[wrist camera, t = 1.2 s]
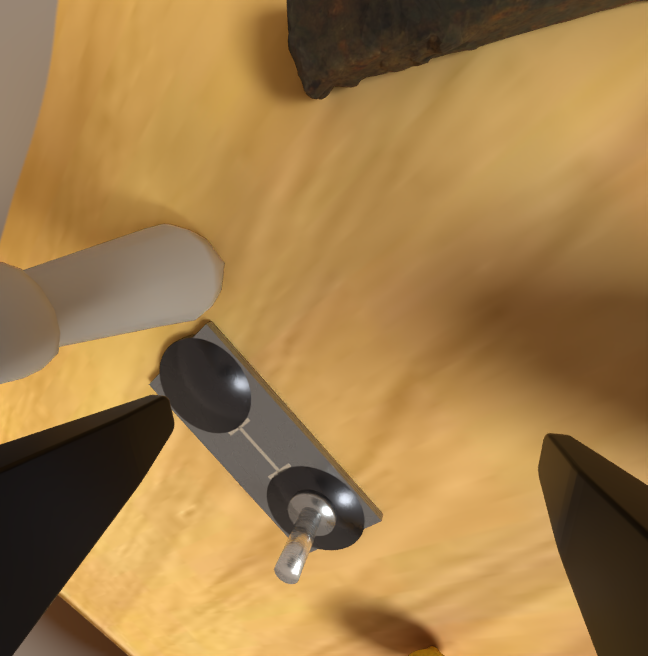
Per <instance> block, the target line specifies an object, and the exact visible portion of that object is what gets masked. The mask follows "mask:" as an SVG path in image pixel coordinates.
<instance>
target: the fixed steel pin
mask: <svg viewBox="0 0 648 656" xmlns="http://www.w3.org/2000/svg"><path fill="white" fill-rule="evenodd" d="M288 514H289V517H290V519H291V520H292V522H293V523H294V524H295V525H294V527H293V529H292V531H291V533H290V536H289V538H288V540H287V542H286V544H285V546H284V549H283V551H282V553H281V555H280V557H279V559H278V562H277V564H276V566H275V568H274V571H275V574H276V575H277V577H278V578H279V579H280V580H282V581H283V582H285V583H288V584H295V583H297V582H298V580H299V577H300V575H301V572H302V569H303V567H304V564H305V562H306V559H307V556H308V554H309V551H310V549H311V546H312V543H313V541H314V538H315V536H323V535H327V534H329V533H330V532H331V531H332V530H333V528H334V526H335V523H336V520H337V511H336V508H335V506H334V505H333V503H332V502H331V501H330V500H329V499H328V498H327V497H326V496H325V495H323V494H321V493H319V492H317V491H314V490H300V491H298V492H296V493H295V494H294V495H293V496H292V498H291V500H290V502H289V505H288Z"/></svg>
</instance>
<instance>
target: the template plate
mask: <svg viewBox="0 0 648 656" xmlns="http://www.w3.org/2000/svg"><path fill="white" fill-rule="evenodd" d="M149 385H150V386H151V387H152V388H153V389H154V391H155V392H156V393H157V394H158V395H162V396H166V397H167V398H168V399H169V401H170V405H171V409H172V410H173V411H174V413H175V414H176V415H177V416H178V417H179V418H180V419H181V420H182V421H183V422H184V424H185V425H186V426H187V427H188V428H189V429H190V430H191V431H192V432H193V433H194V435H195V436H196V437H197V438H198V439H199V440H200V441H201V442H202V443H203V444H204V446H205V447H206V448H207V449H208V450H209V451H210V452H211V453H212V454H213V455H214V457H215V458H216V459H217V460H218V461H219V462H220V463H221V464H222V465H223V466H224V467H225V469H226V470H227V471H228V472H229V473H230V474H231V475H232V476H233V477H234V478H235V480H236V481H237V482H238V483H239V484H240V485H241V486H242V487H243V488H244V489H245V491H246V492H247V493H248V494H249V495H250V496H251V497H252V498H253V499H254V500H255V502H256V503H257V504H258V505H259V506H260V507H261V508H262V509H263V510H264V511H265V513H266V514H267V515H268V516H269V517H270V518H271V519H272V520H273V521H274V522H275V524H276V525H277V526H278V527H279V528H280V529H281V530H282V531H283V532H284V533H285V535H286V536H287V537H288V538H289V536H290V533H291V531H292V529H293V527H294V525H295V524H294V523H293V522H292V520H291V519H290V517H289V514H288V505H289V502H290V500H291V498H292V496H293V495H294V494H295V493H296V492H298V491H300V490H314V491H317V492H319V493H321V494H323V495H325V496H326V497H327V498H328V499H329V500H330V501H331V502H332V503H333V505H334V506H335V508H336V511H337V520H336V523H335V526H334V528H333V530H332V531H331V532H330V533H329V534H327V535H323V536H315V538H314V541H313V543H312V546H311V549H310V551H309V553H310V552H312V551H315V550H317V549H323V550H339V549H343V548H346V547H349V546H351V545H352V544H354V543H355V542H356V541H357V540H358V539H359V538H360V536H361V535H362V532H363V530H364V529H365V528H367V527H369V526H372V525H374V524H376V523H378V522H381V521H382V517H383V514H382V512H381V511H380V510H379V509H378V508H377V507H376V506H375V505H374V503H373V502H372V501H371V500H370V499H369V498H368V497H367V496H366V494H365V493H364V492H363V491H362V490H361V489H360V488H359V487H358V485H357V484H356V483H355V482H354V481H353V480H352V479H351V478H350V476H349V475H348V474H347V473H346V472H345V471H344V470H343V469H342V467H341V466H340V465H339V464H338V463H337V462H336V461H335V460H334V458H333V457H332V456H331V455H330V454H329V453H328V452H327V451H326V449H325V448H324V447H323V446H322V445H321V444H320V443H319V442H318V440H317V439H316V438H315V437H314V436H313V435H312V434H311V433H310V431H309V430H308V429H307V428H306V427H305V426H304V425H303V424H302V422H301V421H300V420H299V419H298V418H297V417H296V416H295V415H294V413H293V412H292V411H291V410H290V409H289V408H288V407H287V406H286V404H285V403H284V402H283V401H282V400H281V399H280V398H279V397H278V395H277V394H276V393H275V392H274V391H273V390H272V389H271V388H270V386H269V385H268V384H267V383H266V382H265V381H264V380H263V379H262V378H261V376H260V375H259V374H258V373H257V372H256V371H255V370H254V369H253V367H252V366H251V365H250V364H249V363H248V362H247V361H246V360H245V358H244V357H243V356H242V355H241V354H240V353H239V352H238V351H237V349H236V348H235V347H234V346H233V345H232V344H231V343H230V342H229V340H228V339H227V338H226V337H225V336H224V335H223V334H222V333H221V331H220V330H219V329H218V328H217V327H216V326H215V325H214V324H213V322H212V321H211V322H209V323H207V324H206V325H205V326H204V327H203V328H202V329H201V330H200V331H199V332H198V333H197V334H196V335H192V336H187V337H185V338H182V339H180V340H178V341H176V342H175V343H173V344H172V345H171V346H170V347H168V349H167V350H166V351H165V353H164V355H163V357H162V359H161V363H160V373H159V375H158V376H157V377H156V378H155V379H154V380H153V381H152V382H151V383H150V384H149Z"/></svg>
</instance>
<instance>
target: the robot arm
mask: <svg viewBox="0 0 648 656" xmlns="http://www.w3.org/2000/svg"><path fill="white" fill-rule="evenodd" d="M173 429H174V418H173V414H172V409H171V405H170V401H169V399H168V398H167V397H166V396H162V395H149V396H146V397H143V398H140V399H137V400H134V401H131V402H128V403H125V404H122V405H119V406H116V407H113V408H110V409H107V410H104V411H101V412H98V413H95V414H92V415H89V416H86V417H83V418H80V419H77V420H74V421H71V422H68V423H65V424H62V425H58V426H55V427H52V428H49V429H46V430H43V431H40V432H37V433H34V434H31V435H28V436H25V437H22V438H19V439H16V440H13V441H10V442H7V443H4V444H1V445H0V656H12V655H13V654H14V653H15V651H16V650H17V649H18V648H19V646H20V645H21V643H22V642H23V641H24V639H25V638H26V637H27V635H28V634H29V632H30V631H31V630H32V628H33V627H34V626H35V625H36V623H37V622H38V620H39V619H40V618H41V616H42V615H43V614H44V613H45V611H46V610H47V609H48V607H49V606H50V604H51V603H52V602H53V600H54V599H55V598H56V596H57V595H58V594H59V592H60V591H61V590H62V588H63V587H64V586H65V584H66V583H67V582H68V580H69V579H70V578H71V576H72V575H73V574H74V572H75V571H76V570H77V568H78V567H79V565H80V564H81V563H82V561H83V560H84V559H85V557H86V556H87V555H88V553H89V552H90V551H91V549H92V548H93V547H94V545H95V544H96V543H97V541H98V540H99V539H100V537H101V536H102V535H103V533H104V532H105V530H106V529H107V528H108V526H109V525H110V524H111V522H112V521H113V520H114V518H115V517H116V516H117V514H118V513H119V512H120V510H121V509H122V508H123V506H124V505H125V504H126V502H127V501H128V500H129V498H130V497H131V496H132V494H133V493H134V491H135V490H136V489H137V487H138V486H139V485H140V483H141V482H142V480H143V479H144V477H145V476H146V474H147V472H148V471H149V469H150V468H151V466H152V464H153V463H154V461H155V459H156V458H157V456H158V455H159V453H160V451H161V450H162V448H163V446H164V445H165V443H166V442H167V440H168V438H169V437H170V435H171V433H172V432H173ZM538 473H539V479H540V483H541V487H542V491H543V495H544V499H545V502H546V506H547V510H548V514H549V518H550V522H551V526H552V530H553V533H554V537H555V541H556V545H557V548H558V552H559V554H560V557H561V560H562V563H563V566H564V568H565V571H566V574H567V576H568V579H569V582H570V584H571V587H572V589H573V592H574V595H575V597H576V600H577V603H578V605H579V608H580V611H581V613H582V616H583V618H584V621H585V624H586V626H587V629H588V632H589V634H590V637H591V640H592V642H593V645H594V647H595V650H596V653H597V655H598V656H648V485H646V484H645V483H643V482H642V481H640V480H639V479H637V478H635V477H634V476H632V475H631V474H629V473H628V472H626V471H624V470H623V469H621V468H620V467H618V466H617V465H615V464H614V463H612V462H610V461H609V460H607V459H606V458H604V457H603V456H601V455H599V454H598V453H596V452H595V451H593V450H592V449H590V448H589V447H587V446H585V445H584V444H582V443H581V442H579V441H578V440H576V439H574V438H573V437H571V436H569V435H563V434H552V433H548V434H547V435H545V437H544V440H543V445H542V450H541V455H540V460H539V466H538Z"/></svg>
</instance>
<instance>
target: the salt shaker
mask: <svg viewBox="0 0 648 656" xmlns="http://www.w3.org/2000/svg"><path fill="white" fill-rule="evenodd" d="M224 264H225V263H224V262H223V260H222V259H221V257H220V256H219V255H218V253H217V252H216V251H215V249H214V248H213V247H212V245H211V244H210V243H209V241H208V240H207V239H206V238H204V237H202V236H200V235H198V234H196V233H194V232H192V231H190V230H188V229H184V228H181V227H177V226H174V225H170V224H161V225H157V226H153V227H149V228H145V229H143V230H140V231H137V232H134V233H131V234H128V235H125V236H122V237H119V238H116V239H113V240H110V241H107V242H105V243H102V244H99V245H96V246H93V247H90V248H87V249H84V250H81V251H78V252H75V253H72V254H69V255H67V256H64V257H61V258H58V259H55V260H52V261H49V262H46V263H43V264H40V265H37V266H34V267H31V268H29V269H26V270H22V269H20V268H17V267H14V266H12V265H9V264H6V263H3V262H0V384H2V383H6V382H10V381H14V380H18V379H22V378H25V377H27V376H29V375H31V374H33V373H35V372H37V371H39V370H41V369H42V368H44V367H45V366H46V365H47V364H48V363H49V362H50V361H51V360H52V359H53V358H54V357H55V356H56V355H57V354H58V351H59V347H61V346H66V345H71V344H76V343H81V342H86V341H91V340H95V339H100V338H105V337H110V336H115V335H120V334H125V333H130V332H135V331H140V330H145V329H150V328H154V327H159V326H165V325H170V324H176V323H181V322H187V321H193V320H196V319H197V318H198V317H200V316H201V315H202V314H203V313H204V312H206V311H207V310H208V309H209V308H210V307H212V306H213V304H214V302H215V300H216V299H217V297H218V295H219V293H220V292H221V290H222V282H223V273H224Z"/></svg>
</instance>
